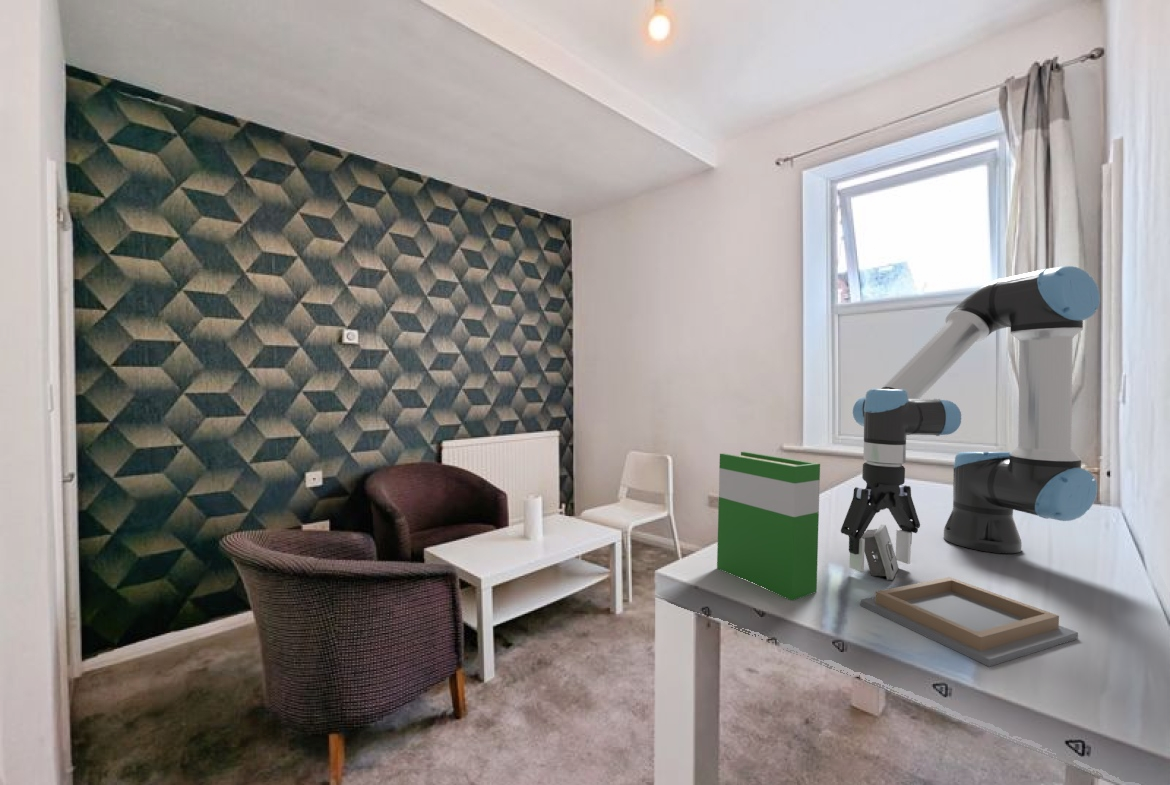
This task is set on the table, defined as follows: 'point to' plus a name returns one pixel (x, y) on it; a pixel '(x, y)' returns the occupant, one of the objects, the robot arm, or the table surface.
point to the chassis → (971, 619)
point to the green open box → (769, 522)
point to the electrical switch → (880, 553)
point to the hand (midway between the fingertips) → (880, 565)
